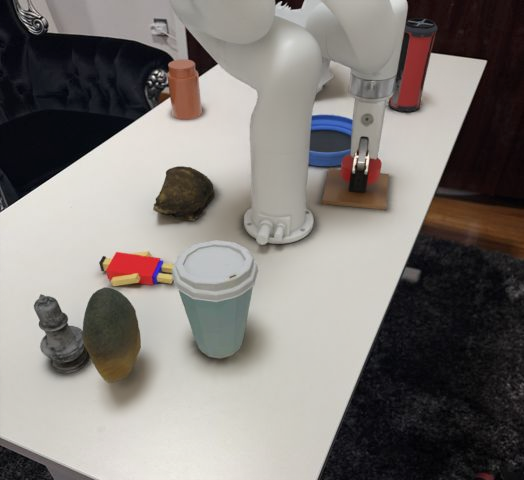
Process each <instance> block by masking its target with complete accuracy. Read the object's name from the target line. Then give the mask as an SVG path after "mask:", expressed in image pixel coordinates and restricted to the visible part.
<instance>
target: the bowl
mask: <svg viewBox="0 0 524 480" xmlns="http://www.w3.org/2000/svg"><path fill="white" fill-rule="evenodd" d="M352 120H353V118H350V117H346V116H344V115H337V114H322V113H321V114H312V120H311V133H310V148H309V164H308V165H311V166H316V167H317V166H318V167H337V166H341V163H342V159H343V158H344V157H345V156H347V155H349V154H351V134H352Z"/></svg>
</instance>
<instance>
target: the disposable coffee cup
mask: <svg viewBox="0 0 524 480" xmlns="http://www.w3.org/2000/svg"><path fill="white" fill-rule="evenodd" d="M173 264H174V265H173V268H172V273H171V275H172V278H173V283H174V286H175V288H176V290H178V293H179V296H180V298H181V302H182V305H183V308H184V311H185V314H186V317H187V319H188V322H189V326H190V329H191V331H192V334H193V336H194V337H193V338H194V340H195V343H196V345H197V349H198V350H200V352H201V353H202V354H204V355H205V356H207V357H208V358H213V359H225V358H229V357H231V356H233V355H234V354H235V353H237V352H238V351H240V348H241V347H242V345H243V341H244V337H245V333H246V326H247V321H248V316H249V310H250V306H251V299H252V294H253V289H254V286H255V284H256V281H257V278H258V275H259V269H258V268H259V267H258V264H257V262H256V260H255V259H254V257H253V255H252V253H251V252H250V251H249V249H248V248H247V247H245V246H243V245H240V244H239V243H236V242H233V241H228V240H227V241H226V240H215V239H213V240H209V241H208V240H207V241H204V242H198V243H195V244H193V245H191V246H190V247H189V248H186V249H185V250H184V251H182V252H180V254H178V256H177V257H176V258H175V262H174V263H173Z"/></svg>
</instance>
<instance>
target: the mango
mask: <svg viewBox="0 0 524 480" xmlns="http://www.w3.org/2000/svg"><path fill="white" fill-rule="evenodd" d="M82 331H83V335H82V337H83V343H84V346H85V348H86V350H87V351H88V353H89V355H90V359H91V361H92V364H93V366H94V367H95V369H96V371H97V373H98V374H99V375H100V377H101V379H103V381H104V382H105V383H107V384H113V383H115V382H118V381H120V380H121V379H122V380H126V379H127V378H128V377H129V375H130V374H131V373H132V371H133V369H134V366H135V363H136V362H137V361H136V360H137V358H138V355H139V354H140V350H141V348H142V344H141V343H142V340H141V338H142V337H141V330H140V327H139V320H138V316H137V311H136V308H135V307H134V306H133V304H132V303H131V301H130V300H129V298H127V297H126V295H124V294H123V293H122V292H120V291H118V290H117V289H115V288H112V287H108V286H107V287H102V288H99V289H97V290H96V291H95V292H93V293H92V295H91V296H90V298H89V299H88V302H87V305H86V308H85V310H84V316H83V322H82Z"/></svg>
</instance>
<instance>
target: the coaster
mask: <svg viewBox="0 0 524 480" xmlns="http://www.w3.org/2000/svg"><path fill="white" fill-rule="evenodd" d="M340 172H341V168H340V169H339V168H328V171H327V175H326V179H325V185H324V190H323V196H322V199H321V204H324V205H333V206H342V207H343V206H344V207H351V208H353V207H354V208H363V209H374V210H384V211H385V210H387V208H388V207H387V206H388V204H387V203H388V186H389V185H388V184H389V173H383V172H380V177H379V179H378V180H377V181H376V182H374V183H372V184H367V187H366V192H365V193H355V192H349V182H346V181H345V180H344V179H342V177H341V175H340Z"/></svg>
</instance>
